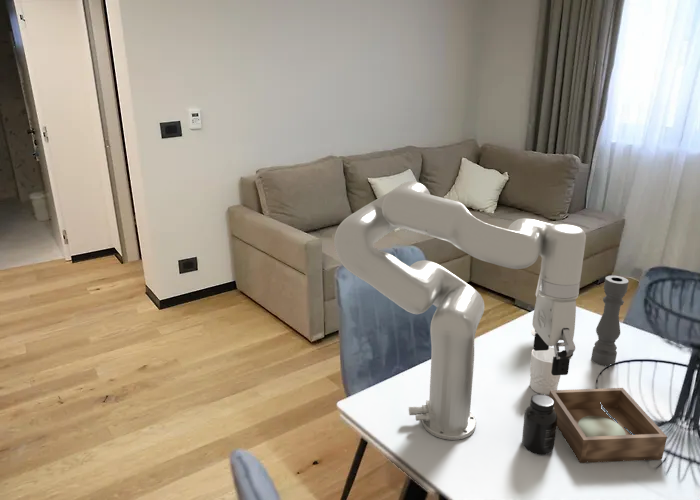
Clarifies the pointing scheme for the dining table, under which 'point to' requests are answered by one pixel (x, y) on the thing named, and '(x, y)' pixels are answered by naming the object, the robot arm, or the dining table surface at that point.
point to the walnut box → (606, 426)
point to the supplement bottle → (540, 425)
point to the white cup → (543, 371)
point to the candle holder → (609, 321)
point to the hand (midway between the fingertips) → (549, 361)
